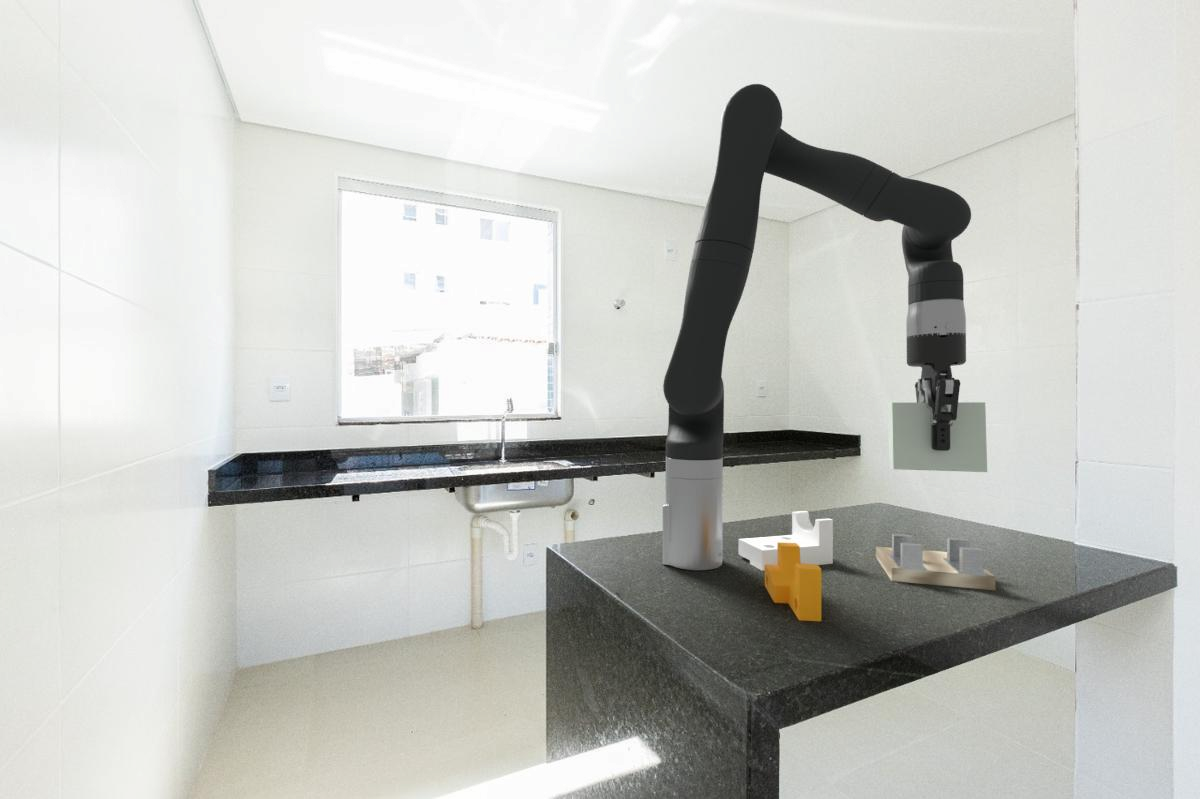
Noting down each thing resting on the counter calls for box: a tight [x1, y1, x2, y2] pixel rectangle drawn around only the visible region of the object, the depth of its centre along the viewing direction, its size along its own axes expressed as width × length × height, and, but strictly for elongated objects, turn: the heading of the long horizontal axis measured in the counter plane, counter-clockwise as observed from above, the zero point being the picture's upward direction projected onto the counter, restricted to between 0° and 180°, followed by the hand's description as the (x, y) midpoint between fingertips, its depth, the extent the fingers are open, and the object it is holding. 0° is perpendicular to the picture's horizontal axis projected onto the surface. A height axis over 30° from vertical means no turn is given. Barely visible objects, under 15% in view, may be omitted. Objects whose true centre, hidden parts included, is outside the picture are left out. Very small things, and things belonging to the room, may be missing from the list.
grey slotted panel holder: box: [889, 533, 988, 576], centre depth 81 cm, size 11×7×4 cm, turn 73°
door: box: [887, 401, 988, 473], centre depth 80 cm, size 12×4×10 cm, turn 72°
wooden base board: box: [875, 546, 996, 591], centre depth 83 cm, size 13×12×2 cm
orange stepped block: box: [764, 542, 822, 622], centre depth 71 cm, size 12×4×6 cm, turn 174°
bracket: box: [738, 510, 834, 572], centre depth 89 cm, size 13×7×8 cm, turn 106°
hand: (936, 448), depth 80 cm, fingers closed on door, 4 cm apart
